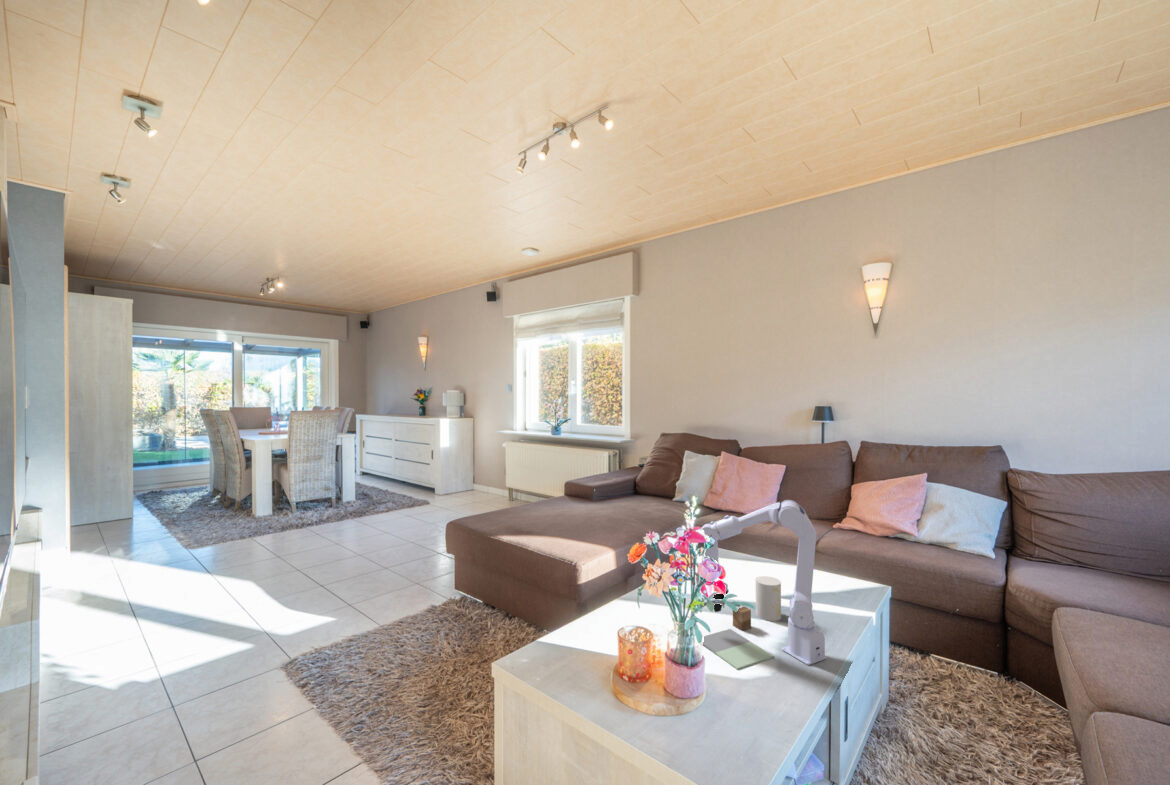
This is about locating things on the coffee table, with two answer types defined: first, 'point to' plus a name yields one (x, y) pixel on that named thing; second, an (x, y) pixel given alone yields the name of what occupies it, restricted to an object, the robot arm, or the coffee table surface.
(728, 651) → the board
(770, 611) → the beige cylinder
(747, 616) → the block
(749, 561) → the coffee table surface
